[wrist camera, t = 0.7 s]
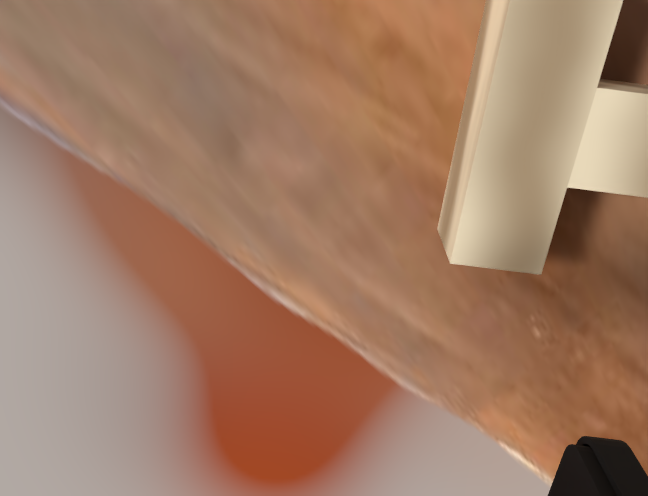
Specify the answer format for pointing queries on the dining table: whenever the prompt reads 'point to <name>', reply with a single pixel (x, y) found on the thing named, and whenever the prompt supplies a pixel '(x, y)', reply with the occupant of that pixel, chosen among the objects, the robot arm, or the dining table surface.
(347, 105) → the dining table surface
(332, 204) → the dining table surface
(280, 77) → the dining table surface
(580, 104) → the t block
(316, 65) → the dining table surface
